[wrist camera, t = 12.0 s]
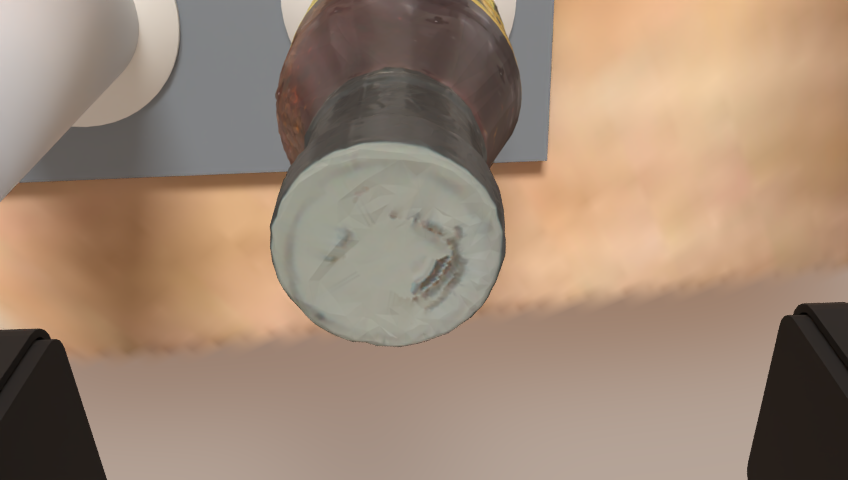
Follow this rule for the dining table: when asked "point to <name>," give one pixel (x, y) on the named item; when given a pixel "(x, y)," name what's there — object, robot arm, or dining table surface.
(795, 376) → the robot arm
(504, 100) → the sauce bottle
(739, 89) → the dining table surface
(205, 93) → the board
